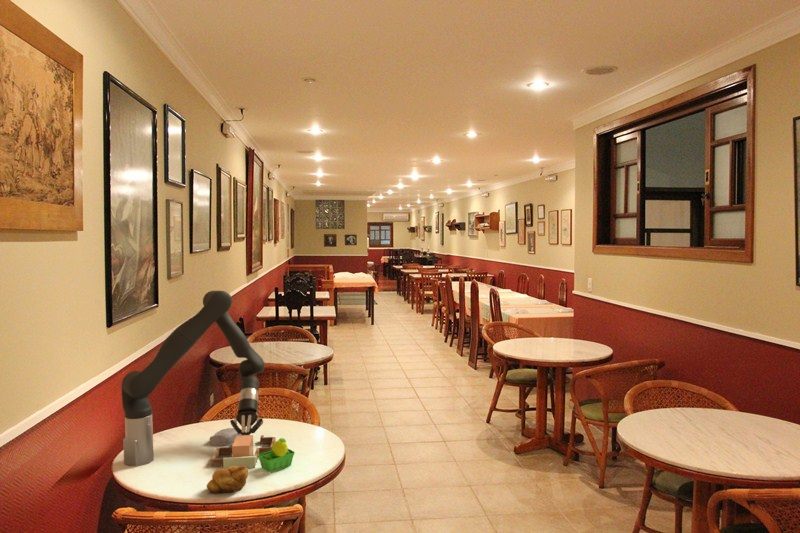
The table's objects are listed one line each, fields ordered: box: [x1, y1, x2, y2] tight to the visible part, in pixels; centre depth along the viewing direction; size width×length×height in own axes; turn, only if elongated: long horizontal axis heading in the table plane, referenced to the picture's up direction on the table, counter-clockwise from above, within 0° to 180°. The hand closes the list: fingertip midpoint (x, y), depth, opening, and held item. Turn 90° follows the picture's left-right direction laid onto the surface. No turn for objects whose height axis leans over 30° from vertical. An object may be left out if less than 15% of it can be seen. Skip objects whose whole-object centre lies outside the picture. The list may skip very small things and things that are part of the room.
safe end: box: [222, 455, 256, 469], centre depth 204 cm, size 1×11×4 cm, turn 97°
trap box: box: [210, 434, 277, 468], centre depth 217 cm, size 26×21×2 cm
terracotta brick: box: [231, 434, 254, 457], centre depth 211 cm, size 11×6×8 cm, turn 7°
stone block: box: [209, 427, 242, 446], centre depth 233 cm, size 12×5×10 cm
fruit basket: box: [258, 437, 295, 473], centre depth 204 cm, size 11×9×11 cm
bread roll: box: [206, 466, 249, 494], centre depth 187 cm, size 13×10×8 cm
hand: (244, 443), depth 217 cm, fingers closed
